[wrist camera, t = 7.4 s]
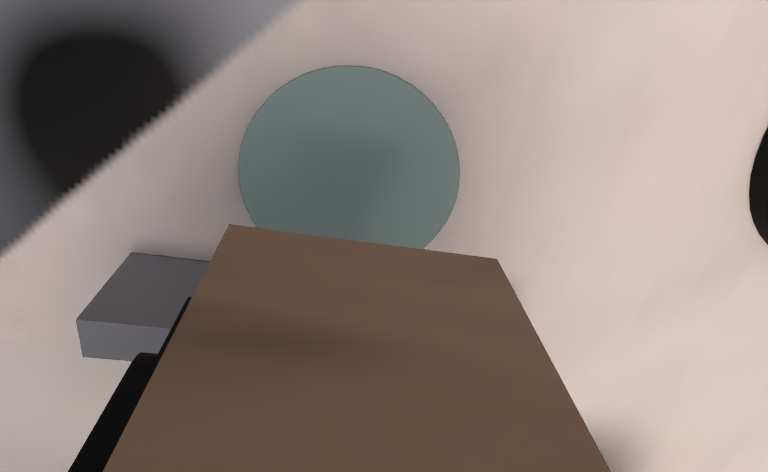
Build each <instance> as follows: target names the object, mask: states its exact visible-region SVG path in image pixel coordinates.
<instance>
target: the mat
mask: <svg viewBox="0 0 768 472" xmlns="http://www.w3.org/2000/svg"><path fill="white" fill-rule="evenodd" d="M238 172H239V184H240V189H241V194H242V197H243V200H244V203H245V206H246V209H247V210H248V212H249V214H250V216H251V218H252V220H253V222H254V223H255V225H256V226H257V228H261V229H269V230H277V231H284V232H292V233H300V234H307V235H315V236H323V237H331V238H338V239H346V240H354V241H361V242H369V243H377V244H385V245H392V246H400V247H408V248H415V249H423V248H424V247H425V246H426V245H427V244H428V243H429V242H431V240H432V239H433V238H434V237H435V236H436V235H437V234H438V232H439V231H440V230H441V228H442V227H443V225H444V224H445V222H446V221H447V219H448V217H449V215H450V213H451V211H452V208H453V206H454V203H455V200H456V197H457V192H458V187H459V176H460V168H459V157H458V152H457V148H456V144H455V141H454V138H453V136H452V133H451V131H450V129H449V127H448V125H447V123H446V121H445V119H444V118H443V116H442V115H441V114H440V112H439V111H438V110H437V108H436V107H435V106H434V104H433V103H432V102H431V101H430V100H429V99H428V98H427V97H426V96H425V95H424V94H423V93H421V92H420V91H419V90H418V89H416V88H415V87H414V86H412V85H411V84H409V83H407V82H406V81H404V80H402V79H400V78H399V77H396V76H394V75H391V74H389V73H386V72H384V71H380V70H376V69H372V68H368V67H359V66H334V67H329V68H323V69H319V70H316V71H312V72H309V73H306V74H304V75H302V76H300V77H298V78H296V79H294V80H292V81H290V82H288V83H287V84H285V85H284V86H283V87H281V88H280V89H278V90H277V91H276V92H275V93H274V94H273V95H272V96H271V97H269V98H268V99H267V100H266V102H265V103H264V104H263V105H262V107H261V108H260V109H259V110H258V111H257V113H256V114H255V116H254V118H253V119H252V121H251V123H250V124H249V126H248V128H247V131H246V133H245V136H244V138H243V141H242V146H241V150H240V154H239V165H238Z"/></svg>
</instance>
